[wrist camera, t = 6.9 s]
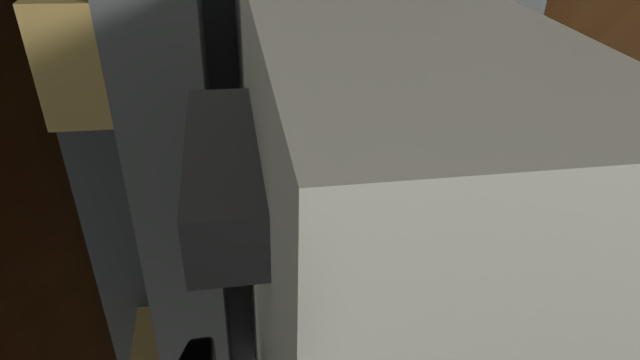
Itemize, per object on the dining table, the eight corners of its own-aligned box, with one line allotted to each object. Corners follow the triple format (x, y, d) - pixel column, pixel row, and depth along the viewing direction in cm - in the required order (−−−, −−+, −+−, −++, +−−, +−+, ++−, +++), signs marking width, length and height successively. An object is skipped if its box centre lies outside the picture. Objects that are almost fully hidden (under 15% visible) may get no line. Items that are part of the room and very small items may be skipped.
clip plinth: (436, 339, 20) (486, 445, 16) (134, 377, 18) (116, 506, 14) (551, -168, 11) (710, -177, 8) (-8, -198, 9) (-140, -229, 6)
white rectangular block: (344, 354, 17) (450, 741, 10) (229, 369, 16) (246, 794, 9) (381, -64, 10) (820, 150, 3) (188, -67, 10) (118, 202, 2)
